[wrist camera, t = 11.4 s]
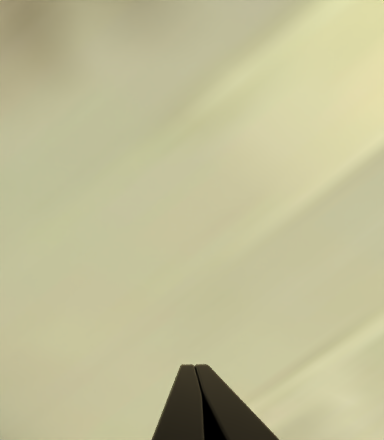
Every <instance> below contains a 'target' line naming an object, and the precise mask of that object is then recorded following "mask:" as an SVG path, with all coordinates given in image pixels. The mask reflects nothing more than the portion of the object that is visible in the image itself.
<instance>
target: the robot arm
mask: <svg viewBox="0 0 384 440" xmlns="http://www.w3.org/2000/svg"><path fill="white" fill-rule="evenodd" d="M152 440H279V439H278V438H277V437H276V436H275V435H274V434H273V433H272V432H271V430H270V429H269V428H268V427H267V426H266V425H265V424H264V423H263V422H262V421H261V420H260V419H259V418H258V417H257V416H256V415H255V414H254V413H253V412H252V411H251V409H250V408H249V407H248V406H247V405H246V404H245V403H244V402H243V401H242V400H241V399H240V398H239V397H238V396H237V395H236V394H235V393H234V392H233V391H232V389H231V388H230V387H229V386H228V385H227V384H226V383H225V382H224V381H223V380H222V379H221V378H220V377H219V376H218V375H217V374H216V373H215V372H214V371H213V370H212V368H211V367H210V366H208V365H206V364H197V365H195V366H194V365H181V366H180V368H179V371H178V373H177V376H176V378H175V381H174V384H173V386H172V389H171V391H170V394H169V396H168V399H167V402H166V404H165V407H164V409H163V412H162V414H161V417H160V420H159V422H158V425H157V427H156V430H155V432H154V435H153V437H152Z"/></svg>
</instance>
